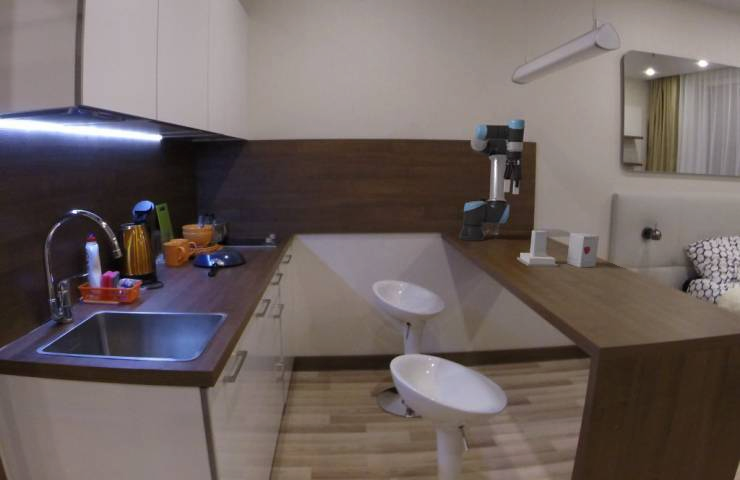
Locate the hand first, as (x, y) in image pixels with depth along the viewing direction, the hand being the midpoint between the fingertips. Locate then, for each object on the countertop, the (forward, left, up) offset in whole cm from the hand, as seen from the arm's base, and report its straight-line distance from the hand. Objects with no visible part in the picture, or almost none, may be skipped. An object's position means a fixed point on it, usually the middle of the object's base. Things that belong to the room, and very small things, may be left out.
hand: (510, 193), depth 218 cm
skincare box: (+21, +8, -28) cm, 36 cm away
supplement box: (+24, +28, -32) cm, 49 cm away
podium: (+21, +8, -32) cm, 39 cm away
